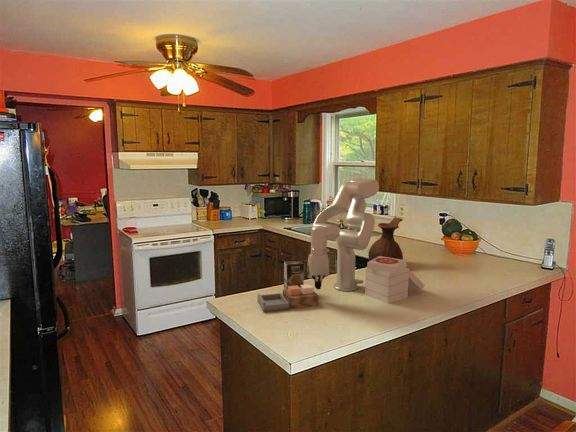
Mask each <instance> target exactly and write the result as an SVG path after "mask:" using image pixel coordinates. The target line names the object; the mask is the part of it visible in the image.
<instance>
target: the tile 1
mask: <svg viewBox="0 0 576 432" xmlns="http://www.w3.org/2000/svg"><path fill="white" fill-rule="evenodd" d="M288 293H289V294H290V295H299V294H301V289H300V287H299V286H298V285H296V286H288Z"/></svg>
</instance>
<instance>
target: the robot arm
mask: <svg viewBox="0 0 576 432" xmlns="http://www.w3.org/2000/svg"><path fill="white" fill-rule="evenodd" d="M379 190H380V184H379V182H378V180H377V179H374V178H362V177H361V178H357V177H356V178H355V177H354V178H351V179H350V180H348V181H343V183H341V185H340V187H339V188H338V190H337V192H336V195H335V197H334V199H333V200H332V203H331V204H330V205H328V206H327V207H326V208H324V209H323V210H322V211H320V212H319V213H318V214H317V216H316V218H315V220H314V222H313V224H312V227H311V228H310V229H311V230H310V253H309V254H308V258H307V263H306V265H307V267H306V273H307V276H306V277H307V278H309V279H313V280H314V288H315V289H316V290H321V289H322V282H323V280H324V279H325V278H328V277H329V276H330V261H329V255H328V252H330V249H329V248H327V244H328V243H327V241H334V240H335V242H336V251H337V252H336V253H337V257H336V259H337V260H336V282H335V283H334V284H333V288H334V289H335V290H338V291H342V292H353V291H355V290H357V289H358V285H359V284H360V285H361V284H363V283H364V280H363V279H359V278H355V277H356V276H355V275H356V253H355V250H357V251H364V250H366V249H367V247H368V246H369V244H370V241H371V238H372V234H373V231H374V229H375V224H376V220H375V216H374V214H372V213H370V212H365V211H366V207H367V202H366V200H365V199H368V198H371V197H374V196H375V195H377V193H378V192H379ZM345 214H346V216H345V219H344V225H345V227H346V228H348V229H345V228H344V229H340V226H338V225H336V224H330V223H327V222H328V221H329V220H330V219H333V218H335V217H338V216H342V215H345Z"/></svg>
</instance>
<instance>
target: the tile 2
mask: <svg viewBox="0 0 576 432" xmlns="http://www.w3.org/2000/svg"><path fill="white" fill-rule="evenodd" d="M314 288H315V286H313V285H311V284H307V283H306V284H304V285H300V289H301V292H302V293H303V294H309V293H314V292H315V291H314Z"/></svg>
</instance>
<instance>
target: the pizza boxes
mask: <svg viewBox="0 0 576 432" xmlns="http://www.w3.org/2000/svg"><path fill="white" fill-rule="evenodd" d="M407 263H408V260H406V259H403V260H402V259H395V258H389V257H382V256H378V257H376V258H374V259H373V260H371V261H370V260H369V261H367V266H365V290H364V294H365V296H368V297H370V298H372V299H375V300H378V301H380V302H382V303H385V304H390V303H393V302H396V301H400V300H403V299H406V298H408V297H409V295H408V294H409V287H411V288H413V289H414V288H415V289H416V290H420V291H422V290H423V289H424V287H425V284H424V282H422V281H421V280H420V278H418V277H417V275H416V274H415V273H414V272H413V271H412V270H410V268H407Z"/></svg>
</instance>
